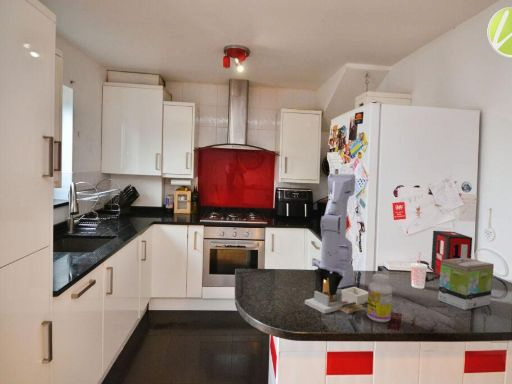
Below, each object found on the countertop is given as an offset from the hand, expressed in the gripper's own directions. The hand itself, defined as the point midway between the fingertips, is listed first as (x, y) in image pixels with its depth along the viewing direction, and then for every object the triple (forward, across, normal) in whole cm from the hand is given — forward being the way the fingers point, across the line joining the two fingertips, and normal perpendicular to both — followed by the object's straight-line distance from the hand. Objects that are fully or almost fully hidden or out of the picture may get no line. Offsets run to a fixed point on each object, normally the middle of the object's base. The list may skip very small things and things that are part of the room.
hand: (328, 292), depth 105 cm
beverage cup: (+4, +3, +48) cm, 48 cm away
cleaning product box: (+4, +3, +73) cm, 73 cm away
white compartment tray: (+4, 0, 0) cm, 4 cm away
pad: (+3, 0, 0) cm, 3 cm away
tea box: (+4, +21, +46) cm, 51 cm away
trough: (+4, +6, +4) cm, 9 cm away
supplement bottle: (+4, +15, +6) cm, 17 cm away
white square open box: (+4, +2, +12) cm, 13 cm away
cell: (+2, 0, 0) cm, 2 cm away
